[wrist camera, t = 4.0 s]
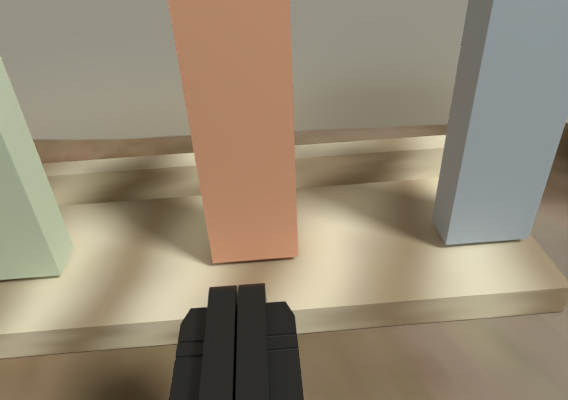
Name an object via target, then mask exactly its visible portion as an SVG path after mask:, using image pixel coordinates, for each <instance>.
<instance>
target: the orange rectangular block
mask: <svg viewBox="0 0 568 400" xmlns="http://www.w3.org/2000/svg"><path fill="white" fill-rule="evenodd" d="M168 4H169V10H170V15H171V21H172V27H173V33H174V38H175V45H176V51H177V56H178V62H179V68H180V74H181V80H182V85H183V91H184V97H185V103H186V109H187V115H188V120H189V126H190V132H191V138H192V144H193V150H194V156H195V162H196V167H197V173H198V179H199V185H200V191H201V197H202V202H203V208H204V214H205V220H206V226H207V232H208V237H209V243H210V249H211V255H212V261H213V263H223V262H236V261H248V260H261V259H274V258H287V257H298V230H297V201H296V171H295V142H294V113H293V84H292V56H291V55H292V54H291V24H290V0H168Z"/></svg>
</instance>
